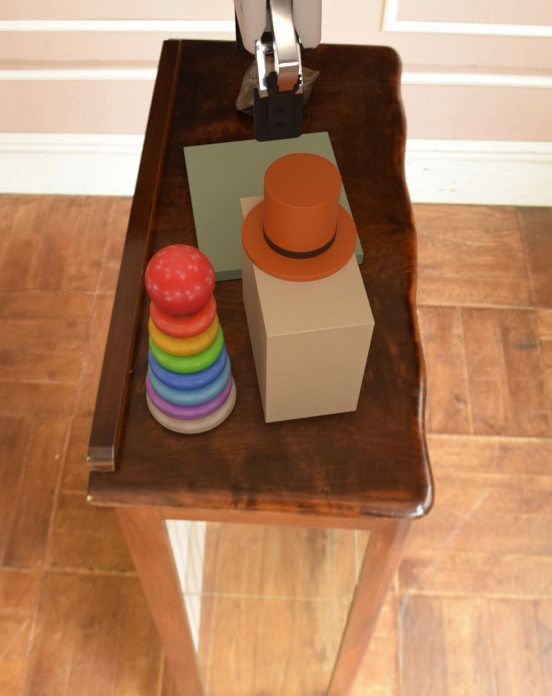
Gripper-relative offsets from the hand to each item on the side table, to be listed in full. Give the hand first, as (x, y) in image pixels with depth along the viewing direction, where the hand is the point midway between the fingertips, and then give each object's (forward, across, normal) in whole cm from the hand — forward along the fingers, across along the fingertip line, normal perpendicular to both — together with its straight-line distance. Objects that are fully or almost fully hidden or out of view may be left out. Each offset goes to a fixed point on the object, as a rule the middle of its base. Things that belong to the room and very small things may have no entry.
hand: (267, 91), depth 56 cm
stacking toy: (+24, -11, +8) cm, 27 cm away
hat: (+10, -6, -2) cm, 11 cm away
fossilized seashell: (+24, +28, -5) cm, 37 cm away
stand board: (+23, +12, -2) cm, 26 cm away
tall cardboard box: (+24, -8, -1) cm, 25 cm away
